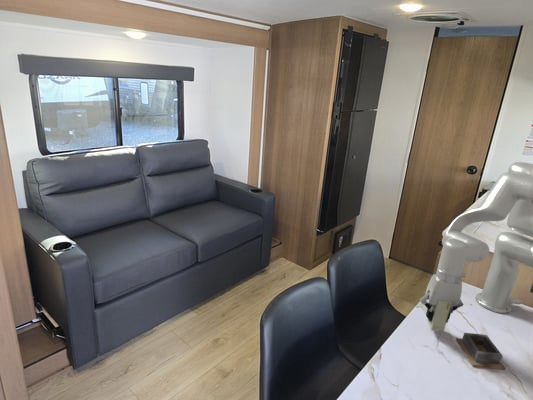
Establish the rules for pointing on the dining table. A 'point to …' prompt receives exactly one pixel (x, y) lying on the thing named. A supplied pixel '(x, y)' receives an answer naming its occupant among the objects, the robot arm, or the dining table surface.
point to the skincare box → (440, 316)
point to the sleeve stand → (480, 351)
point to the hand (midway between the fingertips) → (436, 319)
